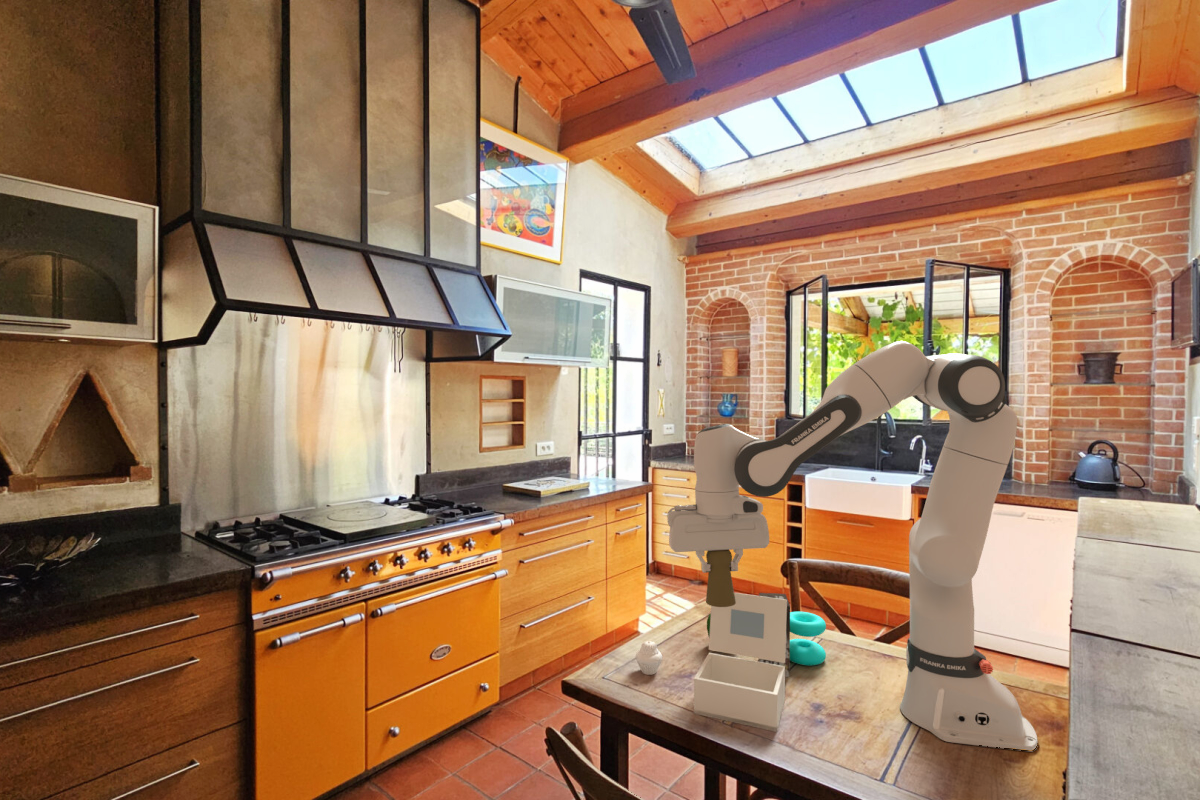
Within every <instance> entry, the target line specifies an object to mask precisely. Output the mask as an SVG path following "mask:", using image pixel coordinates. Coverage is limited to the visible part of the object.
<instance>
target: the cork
mask: <svg viewBox="0 0 1200 800" xmlns="http://www.w3.org/2000/svg"><path fill="white" fill-rule="evenodd" d="M705 556H706V562H708V563H709V564H710V569H711V572H708V577H707V588H706V597H705V603H706V604H707V605H708V606H710V607H711V606H714V607H729V606H733V605H735V604H736V601H735V595H734V593H735V590H734V584H733V579H732V571H730V563H731V562H732V560H733V555H732V552H731V550H712V551H706V555H705Z"/></svg>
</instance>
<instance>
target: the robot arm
mask: <svg viewBox="0 0 1200 800" xmlns="http://www.w3.org/2000/svg"><path fill="white" fill-rule="evenodd" d="M1005 392H1006V381H1005V377H1004V374H1003V372H1002V369H1000V367H999V366H998V365H997V364H996V363H995V362H994V361H992V360H990V359H988V358H985V357H983V356H980V355H976V354H975V355H974V354H965V353H959V352H958V353H957V352H955V353H946V354H929V355H925V354H924V353H923V351H921V349H920V348H918V347H917V346H916V345H914V344H912V343H911V342H908V341H903V340H900V341H894V342H891V343H889V344H886V345H885V346H881V347H880V348H878V349H876V350H875V351H873V352H871V353H869V354H867V355H866V356H864V357H862V358H861V359H859V360H858V361H856V362H855V363H853V364H852V365H851V366H849V367H848V368H846V369H845V370H844V371H842V372H841V373H840V374H839V375H838V376H837V377H835V378H834V379H833V381H831V382H830V384H829V385H828V386H827V387H825V389H824V393H823V396H822V399H821V400H820V402H819V403H818V405H817V407H815V409H814V410H813V411H812V412H810V413H809V414H808V415H807V416H806V417H804V418H803V419H802V420H800V421H799V422H797V423H796V424H795V425H793V426H792V427H790V428H789V429H787V430H786V431H785V432H784V433H782V434H780V435H779V436H778V437H775V438H773V439H769V440H767V439H766V440H765V439H763V438H758V437H755V436H752V435H750V434H748V433H746V432H744V431H742V430H740V429H738V428H737V427H734V425H732V424H731V423H722V424H717V425H712V426H707V427H705V428H702V429H701V430H700V431H698V433H697V434H696V436H695V439H694V448H693V449H694V450H693V467H694V471H695V475H696V482H695V487H694V493H695V494H694V495H695V496H694V497H695V504H685V505H679V504H677V505H674V506H673V507H672V508H671V509H669V510H668V512H667V524H668V526H669V534H668V535H669V537H668V543H669V547H670V549H672V551H674V552H675V553H684V552H685V553H687V552H689V553H690V552H695V555H696V557H697V559H698V560H699V561H700V563H701V571H702V573H703V574H705V573H709V572H711V569H710V564H709V563H708V562H707V561H705V559H704V556H706V555H705V553H706V552H707V551H712V550H730V551H731V550H733V552H734V553H735V554H734V556H733V557H732V562H731V563H730V571H731V572H738V571H739V563H740V560H741V559H742V557H743V555H744V550H749V549H751V550H752V549H754V550H755V549H766V548H767V547H768V545H769V544H770V532H769V526H768V525H769V524H768V520H767V518H766V517H765V515H764V514H763V511H764V504H763V503H762V502H760V501H759V500H757V499H756V498H752V497H749V496H746V495H743V494H741V495H740V487H741V489H742V490H744V491H745V492H747V493H748V494H750V495H752V496H755V497H760V498H762V497H763V498H767V497H772V496H775V495H777V494H779V493H780V492H782V491H783V490H784V489H785V488H786V486H787V485H788V484H789V482H790V481H791V479H792V477H793V475H794V473H796V471H797V469H798V468H799V466H801V465H802V464H803V463H804V462H805V461H807V460H808V459H810V458H811V457H812V456H814V455H815V454H816V453H818V452H819V451H821V450H822V449H823V448H825V447H826V446H827V445H829V444H830V443H832V442H834V441H835V440H836V439H837V438H839V437H840V436H843V435H845V434H846V433H848V432H851V431H853V430H855V429H857V428H859V427H861V426H864V425H866V424H868V423H870V422H872V421H874V420H876V419H877V418H879V417H882V416H883V415H884V414H885V413H887V412H888V411H890V410H891V409H893V408H894V407H895V406H897V405H899V404H900V403H901V402H902V401H904V400H906V399H909V398H911V397H913V398H914V399H915V400H916V401H918V402H919V403H922V404H923V405H926V406H929V407H933V408H935V409H937V410H940V411H944V412H947V414H948V417H949V429H948V433H947V436H946V438H945V440H944V443H943V446H942V449H941V451H940V454H939V457H938V460H937V463H936V466H935V468H934V472H933V473H932V476H931V477H932V478H931V480H930V483H929V486H928V487H929V488H928V491H927V496H926V500H925V504H924V507H923V510H922V514H921V517H920V518H918V520H916V522H915V523H913V525H912V527H911V528H910V530H909V536H908V551H909V553H908V556H909V557H908V559H909V563H908V565H909V566H908V569H909V570H908V571H909V573H908V574H909V637H908V639H907V641H906V643H907V644H906V659H905V660H906V667H907V678H906V684H905V689H904V693H903V696H902V700H901V702H900V705H899V709H900V712H901V713H902V714H903V716H904V717H905V718H907V719H908V720H909V722H912V723H913V724H915V725H917V726H918V727H920V728H923V729H925V730H927V731H929V732H930V733H932V734H933V735H934V736H935V737H937V738H938V739H940V740H942V741H945V742H947V743H955V744H963V745H969V746H970V745H972V746H979V745H982V746H981V747H987V746H988V747H989V748H996V747H998V748H997V749H1004V748H1016V749H1026V750H1033V749H1035V748H1036V746H1037V743H1038V736H1037V732H1036V730H1035V728H1034V727H1033V725H1032V724H1031V722H1030V721H1029V720H1028V719H1027V718H1026V717H1024V716H1023V715H1022V711H1021V708H1020V705H1019V703H1018V700H1017V699H1016V697H1015V696H1014V695H1013V693H1012V692H1011V691H1010V690H1009V688H1007V686H1005V685H1004V684H1002V683H1001V682H1000V681H999V680H997V679H996V678H995V677H994V676H992V675H991V674H992V673H993V672H994V667H993V665H992V664H991V662H990V661H989V660H987V657H986V656H985V655H984V654H983V653H982V652H981V650H980V649H979V648H977V649H976V648H975V606H974V597H973V595H974V594H973V578H974V577H975V575H976V573H977V571H978V568H979V565H980V560H981V557H982V553H983V551H984V545H985V543H986V540H987V539H986V538H987V535H988V531H989V527H990V522H991V517H992V512H993V509H994V504H995V502H996V499H997V496H998V493H999V490H1000V487H1001V484H1002V483H1003V479H1004V476H1005V474H1006V471H1007V469H1008V465H1009V463H1010V459H1011V456H1012V453H1013V450H1014V446H1015V440H1016V435H1017V431H1018V430H1017V428H1018V416H1017V413H1016V411H1014V410H1013V409H1012V408H1011V407H1010V406H1009V405H1007V404H1006V402H1007V399H1006V395H1005ZM1038 744H1039V743H1038ZM988 747H987V748H988ZM999 747H1000V748H999ZM1037 747H1038V746H1037ZM1036 749H1037V748H1036ZM1036 749H1035V750H1036Z"/></svg>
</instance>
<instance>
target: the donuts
mask: <svg viewBox="0 0 1200 800" xmlns="http://www.w3.org/2000/svg"><path fill="white" fill-rule="evenodd" d="M826 630H827V625H826V621H825V620H824V619H823V617H821V616H820V615H817V614H815V613H813V612H812V613H811V612H807V611H790V634H791V633H792V634H793V635H796V636H800V637H804V638H793V639H790V662H792V663H794V664H797V665H802V666H817V665H821V664H822V663H824V661H825V660H826V658H827V654H826V651H825V649H824V648H823V646H822V645H820V644H819V643H817V642H816V641H813V640H811V639H806V638H805V637H808V638H811V637H816V636H820V635H822V634H823V633H824V632H826Z"/></svg>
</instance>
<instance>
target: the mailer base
mask: <svg viewBox="0 0 1200 800" xmlns="http://www.w3.org/2000/svg"><path fill="white" fill-rule="evenodd" d="M785 681H786V677H785V666H780V665H775V664H769V663H764V662H760V661H758V660H757V661H756V660H751V659H745V658H739V657H735V656H729V655H723V654H719V653H712V652H708V654H707V655H706V657H705V659H704V661H703V663H702V664H701V665H700V667H699V669H698V671H697V672H696V674H695V676H694V678H693V714H694V715H697V716H698V715H699V716H704V717H708V718H712V719H713V718H714V719H717V720H720V721H721V720H722V721H726V722H731V723H736V724H739V725H744V726H747V727H753V728H758V729H762V730H767V731H771V732H775V733H777V732H778V730H779V725H780V721H781V717H782V712H783V709H784V705H785V700H786V699H785V698H786V695H785V694H786V691H785V690H786V685H785V684H786V683H785Z"/></svg>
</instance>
